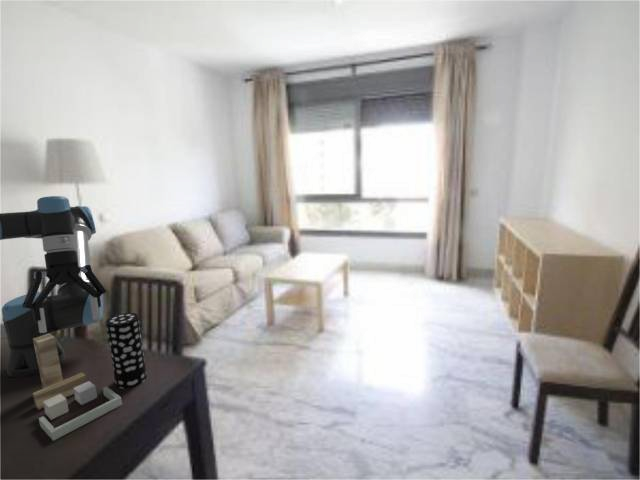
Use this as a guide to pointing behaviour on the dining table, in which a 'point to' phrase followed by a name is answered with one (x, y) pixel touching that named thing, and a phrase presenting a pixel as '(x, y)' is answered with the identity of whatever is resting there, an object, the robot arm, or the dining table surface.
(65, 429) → the bay
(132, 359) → the spotted tube
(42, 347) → the cream t-shaped block
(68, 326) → the robot arm
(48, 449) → the dining table surface
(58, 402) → the off-white cube
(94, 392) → the gray cube
